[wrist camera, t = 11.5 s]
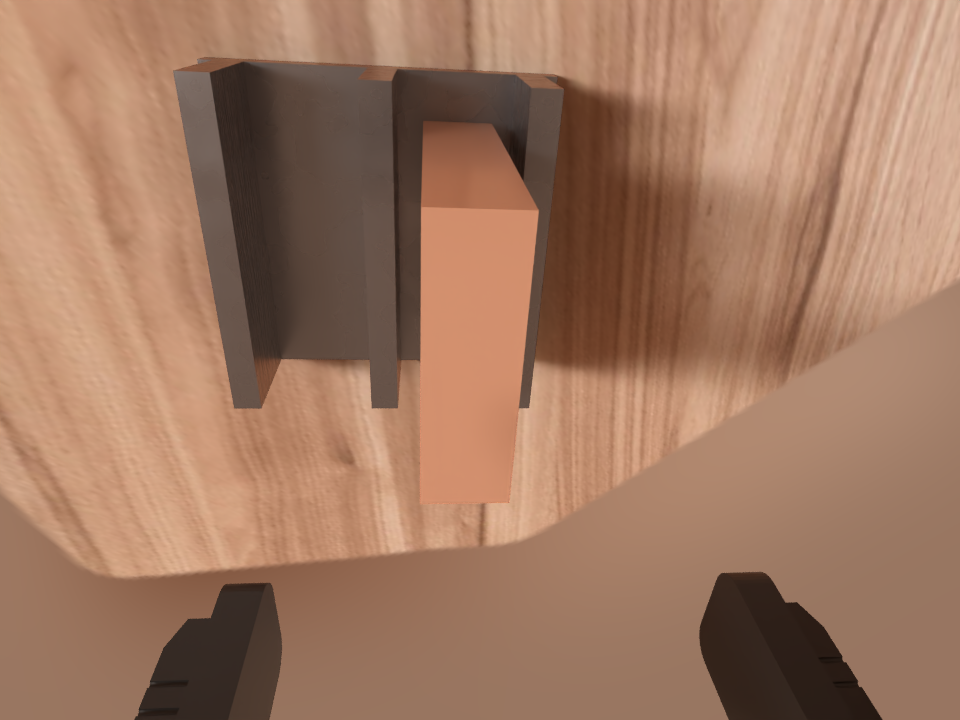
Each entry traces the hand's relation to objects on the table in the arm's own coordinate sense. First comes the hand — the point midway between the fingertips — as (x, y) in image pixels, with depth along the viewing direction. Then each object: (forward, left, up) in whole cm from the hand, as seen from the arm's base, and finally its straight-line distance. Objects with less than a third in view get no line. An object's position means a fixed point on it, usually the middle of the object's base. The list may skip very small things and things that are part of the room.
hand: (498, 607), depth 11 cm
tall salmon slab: (0, 0, -21) cm, 21 cm away
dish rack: (0, -3, -22) cm, 22 cm away
